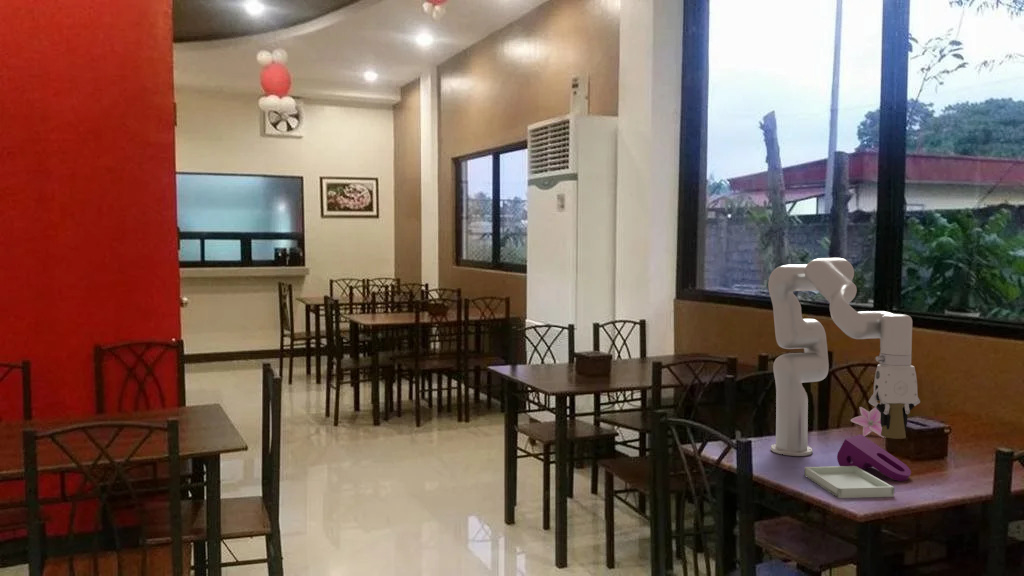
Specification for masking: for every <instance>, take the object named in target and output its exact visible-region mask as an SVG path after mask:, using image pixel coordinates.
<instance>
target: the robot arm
mask: <svg viewBox="0 0 1024 576" xmlns="http://www.w3.org/2000/svg"><path fill="white" fill-rule="evenodd" d="M854 277H855V269H854V266H853V265H852V264H851V262H850V261H848V260H847V259H845V258H841V257H820V258H815V259H812V260H810V261H809V262H808V263H807V264H806V263H805V264H801V263H800V264H792V263H791V264H784V265H780V266H777V267H776V268H774V269H773V270H772V271H771V273H770V275H769V279H768V282H767V284H768V292H769V293H768V294H769V296H770V300H771V304H772V309H773V321H774V333H775V334H774V335H775V341H776V343H777V345H778V347H780V348H782V349H786V350H795V349H796V350H797V349H798V350H799V349H803V352H789V353H788V352H787V353H783V354H781V355H779V356H778V357H776V358H775V360H774V362H773V365H772V367H773V368H772V369H773V370H772V371H773V376H774V380H775V381H774V383H775V394H776V395H775V400H776V401H775V403H776V404H775V407H776V409H775V411H776V412H775V415H776V416H775V417H776V418H775V443H774V444H771V445H770V451H772V452H773V453H775V454H779V455H782V454H783V455H784V456H790V457H791V456H793V457H806V456H810V455H812V454H813V452H814V451H813V448H812V447H810V446H809V445H808V438H809V437H808V434H809V433H808V432H809V431H808V430H809V429H808V427H809V424H808V422H809V421H808V419H809V417H808V416H809V415H808V414H809V411H808V410H809V404H808V403H809V399H808V398H809V397H808V393H807V392H806V389H805V387H804V386H803V383H804V384H805V383H815V382H821V381H823V380H824V379H826V378H827V376H828V374H829V369H830V368H829V367H830V363H829V354H828V353H829V352H828V343H827V334H826V331H825V328H824V326H823V325H822V323H821V322H820V321H819V320H817V319H815V318H803V314H802V306H801V302H800V301H799V299H798V297H797V296H796V295H795V294H794V292H811V291H812V292H813V291H814V292H816V291H817V292H819V293H820V294H821V295H822V296H823V297H824V299H825V300H827V301H828V302H829V312H830V316H831V320H832V321H833V323H834V324H835V325H836V326H837V327H838V329H840V331H842V332H843V333H844V334H845V335H846V336H848V337H849V338H851V339H855V340H866V339H879V344H880V345H879V351H880V352H879V355H878V356H875V361H876V362H878V363H879V364H877V366H876V370H875V374H874V378H873V380H874V382H873V392H872V393H873V394H872V395H871V396H870V398H869V400H868V403H869V404H870V405H872V406H873V407H874V408H875V407H876V408H877V409H878V410H879V412H880V413H881V422H880V423H881V427H882V426H885V425H886V427H887V429H889V426H890V417H891V416H890V415H889V414H888V413H889V408H890V406H889V404H898V403H902V404H905V405H904V407H903V418H904V427H905V430H906V429H907V425H908V415H909V414H910V413H911V411H912V410H913V409H914V408H915V407H916V406H917V405H919V404H920V403H921V399H920V398H919V395H918V379H917V373H916V368H915V366H914V365H912V351H913V349H912V345H913V344H912V343H913V342H912V341H913V319H912V317H911V316H910V315H907V314H905V313H904V314H902V313H892V312H889V311H885V310H872V311H871V310H870V311H869V310H866V311H857V310H856V309H854V308H853V307H852V306H851V305H850V303H851V302H852V301H853V300H854V299H855V298H856V295H857V291H858V289H857V285H856V284H855V283H854V282H853V279H854ZM884 404H885V405H884Z"/></svg>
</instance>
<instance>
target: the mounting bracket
mask: <svg viewBox="0 0 1024 576" xmlns="http://www.w3.org/2000/svg"><path fill="white" fill-rule="evenodd" d="M836 460H837V463H838V465H839V466H857V467H858V468H860V469H862V470H864V471H865V469H866V470H868V469H870V468H874V469H876V470H877V471H879V472H880V473H881V474H883V475H884V476H886V477H887V478H890V479H892V480H894V481H899V482H904V481H907V480H909V477H910V476H911V474H912V471H911V469H910V467H908V465H907V464H906V463H904V462H903V461H901V460H900V459H899V458H897V457H896V456H894V455H892V454H891V453H889V452H888V451H887V450H885V449H883V448H882V447H880V445H878V444H876V443H875V442H874V441H872V440H871V439H869V438H868V437H866V436H863V433H862V434H858V435H855V436H850V437H848V438H845V439H844V441H843V443H842V444H841V446H840V448H839V449H838V451H837V455H836Z"/></svg>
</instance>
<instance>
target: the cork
mask: <svg viewBox="0 0 1024 576" xmlns="http://www.w3.org/2000/svg"><path fill="white" fill-rule="evenodd" d="M884 405H885V404H884ZM904 405H905V404H902V403H898V404H889V406H890V408H889V413H888V414H889V415H890V416H891V417H890V426H889V429H887V427H886V425H885V426H882V431H881V436H883V437H885V438H888V439H894V440H895V439H896V440H898V439H899V440H902V439H906V438H907V436H906V429H905V427H904V418H903V407H904ZM881 436H880V437H881ZM883 437H882V438H883Z"/></svg>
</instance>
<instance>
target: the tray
mask: <svg viewBox="0 0 1024 576" xmlns="http://www.w3.org/2000/svg"><path fill="white" fill-rule="evenodd" d="M803 474H804V475H805V476H804V477H806V476H807V477H808V478H807V477H806V478H807V479H808V480H810V479H811V480H810V481H812V482H813V481H814V482H813V483H815V484H816V483H817V484H816V485H818V486H819V485H820V486H819V487H821V488H822V487H823V488H822V489H823V490H825V489H826V492H829V493H830V494H831V493H832V494H831V495H833V496H834V495H835V497H836V498H837V499H850V498H853V499H855V498H857V499H858V498H860V499H861V498H889V497H890V498H892V497H895V486H893V485H891V484H889V483H887V482H886V481H884V480H882V479H880V478H878V477H876V475H875V476H874V475H873V474H871V473H870V472H868V471H866V470H865V469H864V470H862V469H860V468H858V467H857V466H840V465H839V466H838V465H834V466H804V473H803Z"/></svg>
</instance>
